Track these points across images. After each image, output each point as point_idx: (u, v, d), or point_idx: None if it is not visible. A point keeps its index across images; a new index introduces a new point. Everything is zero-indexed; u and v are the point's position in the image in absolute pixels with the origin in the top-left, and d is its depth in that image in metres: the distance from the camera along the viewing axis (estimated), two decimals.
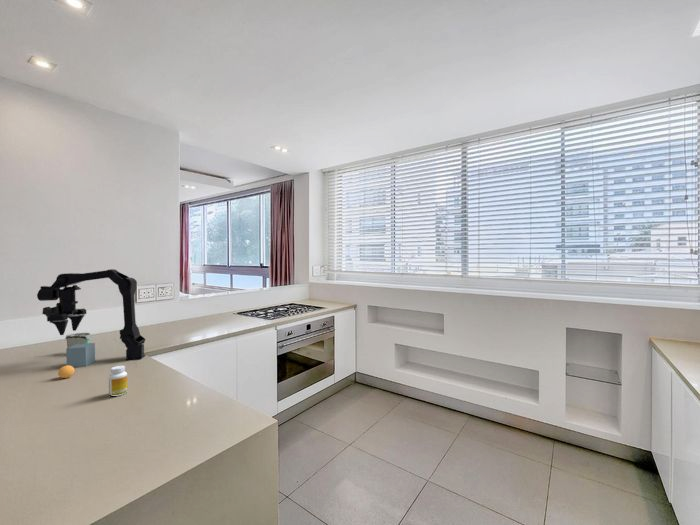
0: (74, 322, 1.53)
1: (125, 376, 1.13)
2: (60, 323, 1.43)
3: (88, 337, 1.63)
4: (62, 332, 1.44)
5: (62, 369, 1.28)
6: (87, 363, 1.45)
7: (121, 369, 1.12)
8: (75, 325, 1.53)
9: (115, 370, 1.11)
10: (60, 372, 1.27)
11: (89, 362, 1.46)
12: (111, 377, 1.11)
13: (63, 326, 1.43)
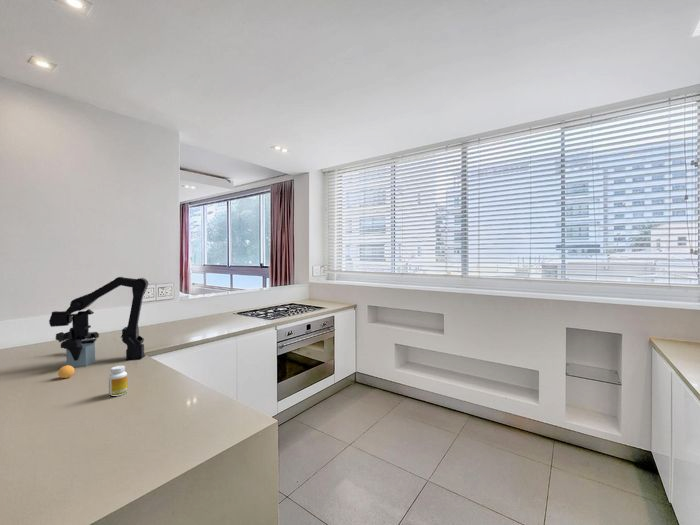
0: None
1: (125, 376, 1.13)
2: (74, 349, 1.41)
3: None
4: (76, 358, 1.42)
5: (62, 369, 1.28)
6: (87, 363, 1.45)
7: (121, 369, 1.12)
8: None
9: (115, 370, 1.11)
10: (60, 372, 1.27)
11: (89, 362, 1.46)
12: (111, 377, 1.11)
13: (77, 352, 1.42)
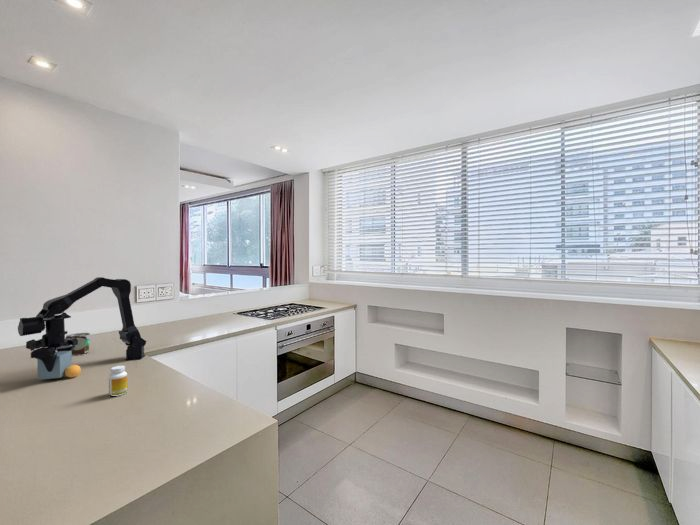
0: None
1: (125, 376, 1.13)
2: (48, 358, 1.24)
3: (88, 337, 1.63)
4: (50, 368, 1.25)
5: (73, 369, 1.29)
6: (62, 374, 1.28)
7: (121, 369, 1.12)
8: None
9: (115, 370, 1.11)
10: (69, 370, 1.28)
11: (64, 373, 1.29)
12: (111, 377, 1.11)
13: (51, 362, 1.24)
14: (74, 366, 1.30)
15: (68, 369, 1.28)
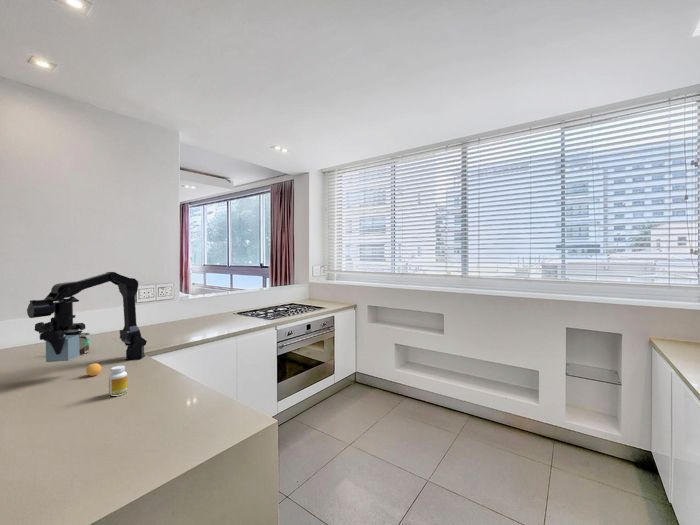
0: None
1: (125, 376, 1.13)
2: (56, 341, 1.25)
3: (88, 337, 1.63)
4: (58, 351, 1.25)
5: (88, 374, 1.30)
6: (70, 357, 1.28)
7: (121, 369, 1.12)
8: None
9: (115, 370, 1.11)
10: (91, 373, 1.30)
11: (72, 356, 1.29)
12: (111, 377, 1.11)
13: (59, 344, 1.25)
14: (91, 375, 1.31)
15: (93, 374, 1.30)
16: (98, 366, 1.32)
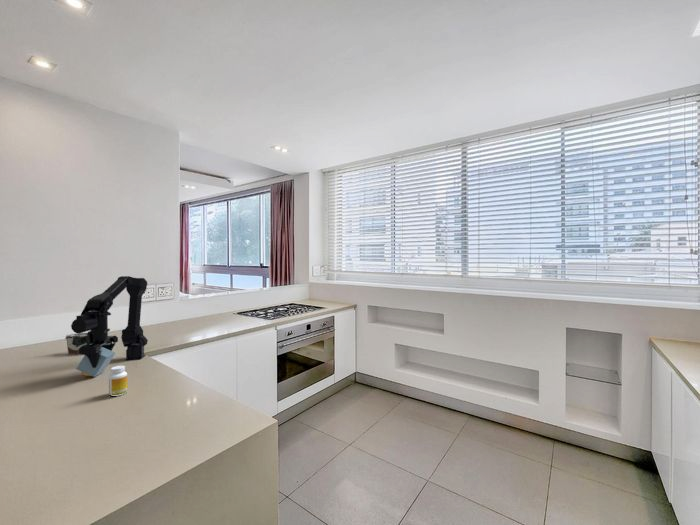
0: None
1: (125, 376, 1.13)
2: (93, 355, 1.28)
3: None
4: (95, 364, 1.28)
5: (87, 375, 1.30)
6: (97, 373, 1.30)
7: (121, 369, 1.12)
8: None
9: (115, 370, 1.11)
10: None
11: (99, 372, 1.32)
12: (111, 377, 1.11)
13: (96, 358, 1.28)
14: (90, 375, 1.31)
15: None
16: None
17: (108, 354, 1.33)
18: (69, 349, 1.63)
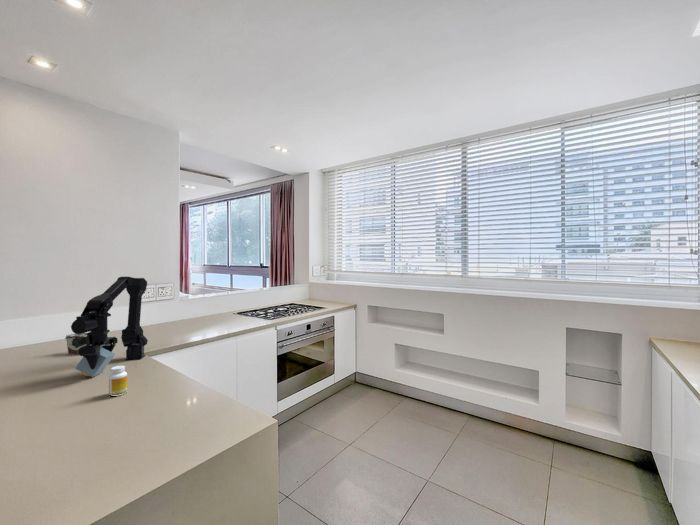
0: None
1: (125, 376, 1.13)
2: (91, 356, 1.27)
3: None
4: (93, 366, 1.27)
5: (87, 375, 1.30)
6: (95, 374, 1.30)
7: (121, 369, 1.12)
8: None
9: (115, 370, 1.11)
10: None
11: (97, 373, 1.32)
12: (111, 377, 1.11)
13: (95, 359, 1.27)
14: None
15: None
16: None
17: (108, 355, 1.33)
18: (69, 349, 1.63)
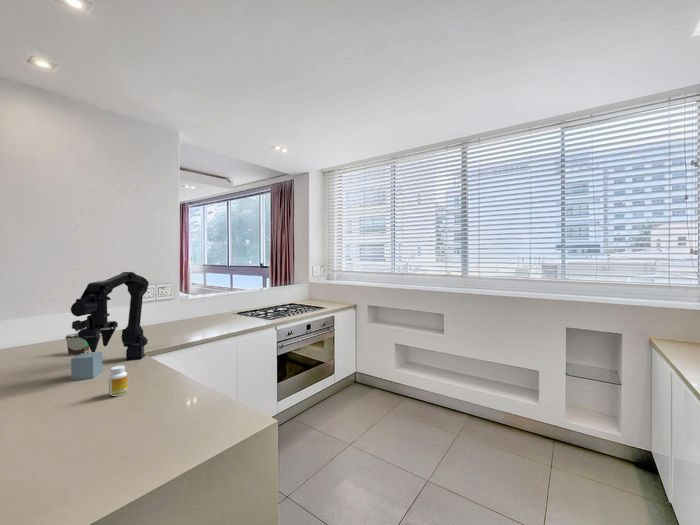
0: (105, 337, 1.37)
1: (125, 376, 1.13)
2: (92, 339, 1.27)
3: None
4: (94, 349, 1.28)
5: None
6: (94, 375, 1.30)
7: (121, 369, 1.12)
8: (106, 340, 1.37)
9: (115, 370, 1.11)
10: None
11: (96, 373, 1.31)
12: (111, 377, 1.11)
13: (95, 342, 1.27)
14: None
15: None
16: None
17: (94, 355, 1.31)
18: (69, 349, 1.63)
